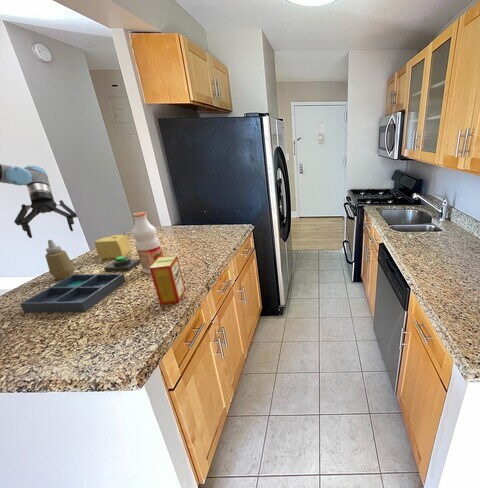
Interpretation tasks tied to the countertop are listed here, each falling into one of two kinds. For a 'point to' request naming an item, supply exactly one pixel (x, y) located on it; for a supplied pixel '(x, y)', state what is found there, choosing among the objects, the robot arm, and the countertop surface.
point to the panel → (122, 265)
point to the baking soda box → (168, 279)
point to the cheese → (112, 246)
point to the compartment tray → (74, 293)
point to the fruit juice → (146, 241)
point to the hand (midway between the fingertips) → (51, 233)
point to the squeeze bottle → (58, 261)
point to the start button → (120, 258)
